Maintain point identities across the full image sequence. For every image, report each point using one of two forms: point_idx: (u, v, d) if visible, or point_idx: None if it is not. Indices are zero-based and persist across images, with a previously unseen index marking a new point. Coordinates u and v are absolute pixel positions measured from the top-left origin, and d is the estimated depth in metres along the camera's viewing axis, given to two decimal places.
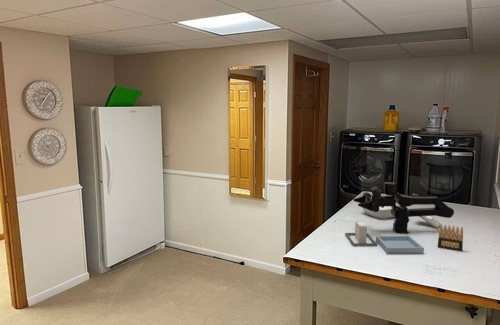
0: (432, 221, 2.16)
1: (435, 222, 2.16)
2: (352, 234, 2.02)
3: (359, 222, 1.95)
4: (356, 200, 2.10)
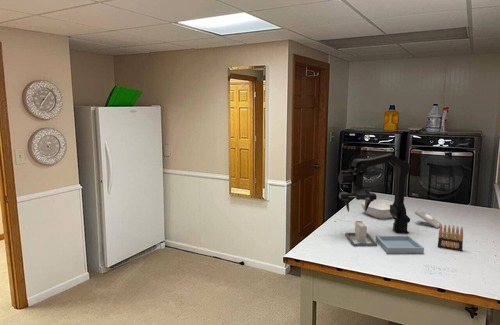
0: (432, 221, 2.15)
1: (435, 222, 2.16)
2: (352, 234, 2.02)
3: (359, 222, 1.95)
4: None
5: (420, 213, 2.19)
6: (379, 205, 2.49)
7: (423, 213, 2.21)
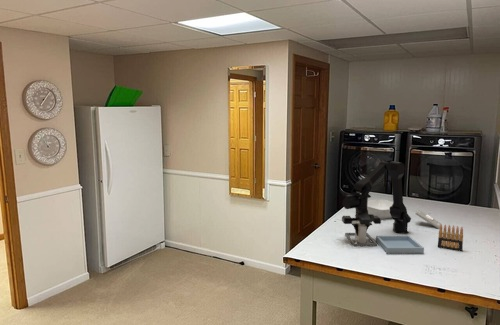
0: (433, 221, 2.15)
1: (436, 222, 2.15)
2: (352, 234, 2.02)
3: (359, 222, 1.95)
4: None
5: (421, 214, 2.18)
6: (379, 205, 2.49)
7: (423, 213, 2.20)
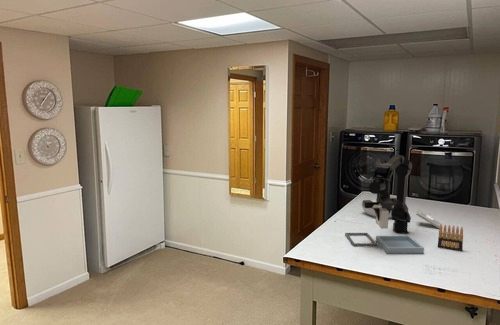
0: (434, 222, 2.14)
1: (437, 223, 2.15)
2: (352, 234, 2.02)
3: (380, 207, 1.88)
4: None
5: (421, 214, 2.17)
6: None
7: (423, 214, 2.19)
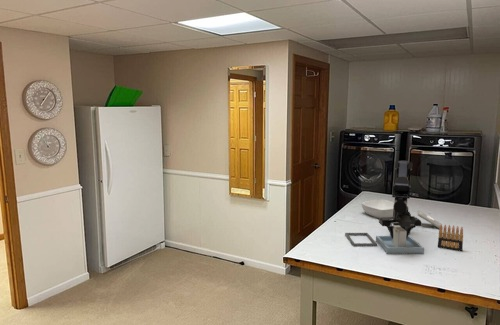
0: (435, 222, 2.13)
1: (437, 223, 2.14)
2: (352, 234, 2.02)
3: (397, 226, 1.85)
4: None
5: (422, 215, 2.15)
6: (379, 205, 2.49)
7: (424, 214, 2.18)
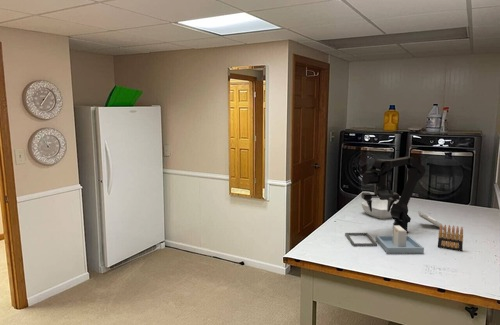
0: (436, 223, 2.13)
1: (438, 223, 2.14)
2: (352, 234, 2.02)
3: (397, 226, 1.85)
4: None
5: (424, 216, 2.14)
6: (379, 205, 2.49)
7: (425, 215, 2.16)
